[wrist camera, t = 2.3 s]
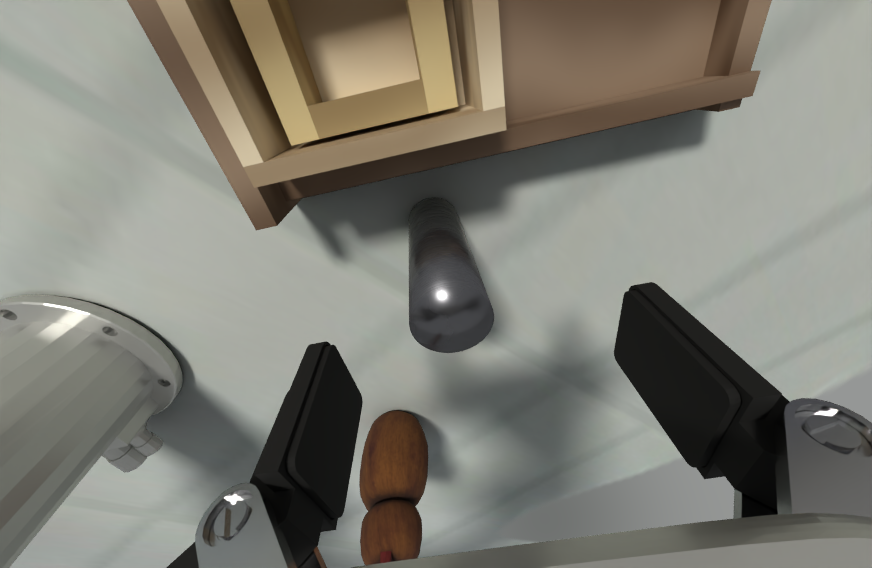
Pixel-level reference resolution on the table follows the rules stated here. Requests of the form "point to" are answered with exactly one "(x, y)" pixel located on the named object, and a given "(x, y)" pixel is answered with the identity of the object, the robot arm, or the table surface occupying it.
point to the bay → (534, 82)
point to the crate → (342, 77)
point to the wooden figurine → (393, 488)
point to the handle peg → (444, 281)
